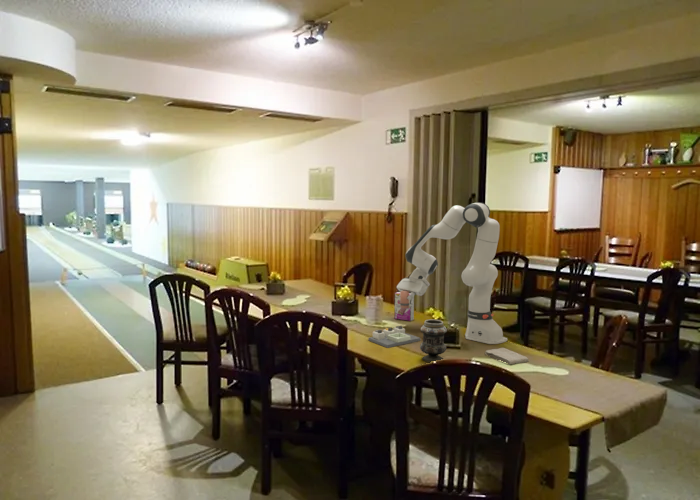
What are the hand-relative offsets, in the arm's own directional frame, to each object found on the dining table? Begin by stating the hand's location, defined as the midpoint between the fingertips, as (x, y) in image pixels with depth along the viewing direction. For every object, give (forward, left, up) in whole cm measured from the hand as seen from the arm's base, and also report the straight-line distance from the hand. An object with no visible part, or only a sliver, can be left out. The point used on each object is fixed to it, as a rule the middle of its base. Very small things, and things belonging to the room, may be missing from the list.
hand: (403, 298), depth 281 cm
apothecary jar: (-47, +22, -19) cm, 55 cm away
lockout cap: (0, -1, -5) cm, 5 cm away
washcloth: (-65, -7, -19) cm, 68 cm away
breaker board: (-13, +17, -18) cm, 28 cm away
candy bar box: (+19, -17, -19) cm, 31 cm away
